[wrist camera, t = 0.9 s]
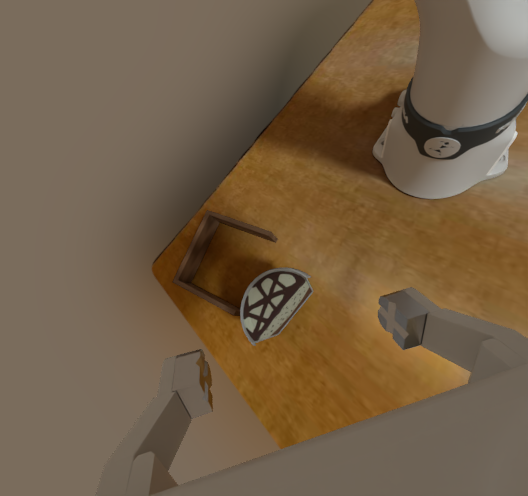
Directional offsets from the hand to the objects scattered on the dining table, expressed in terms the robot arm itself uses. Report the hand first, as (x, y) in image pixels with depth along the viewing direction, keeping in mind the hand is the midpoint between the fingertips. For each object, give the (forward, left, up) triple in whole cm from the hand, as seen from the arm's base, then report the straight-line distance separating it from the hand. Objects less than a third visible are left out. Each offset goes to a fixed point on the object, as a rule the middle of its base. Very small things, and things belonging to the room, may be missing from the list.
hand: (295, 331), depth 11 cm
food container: (0, -10, -31) cm, 33 cm away
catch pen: (-2, -23, -31) cm, 39 cm away
